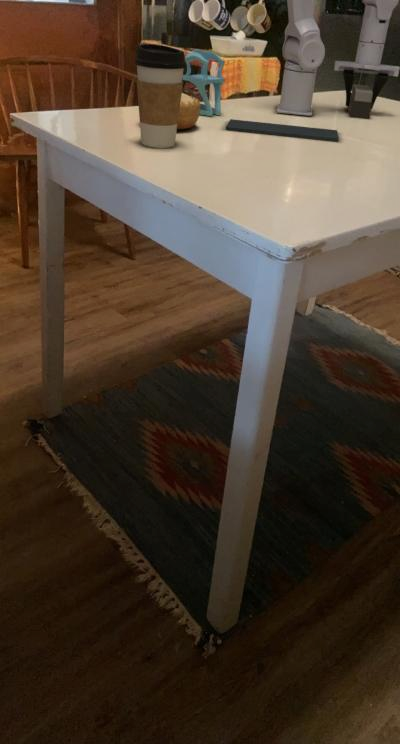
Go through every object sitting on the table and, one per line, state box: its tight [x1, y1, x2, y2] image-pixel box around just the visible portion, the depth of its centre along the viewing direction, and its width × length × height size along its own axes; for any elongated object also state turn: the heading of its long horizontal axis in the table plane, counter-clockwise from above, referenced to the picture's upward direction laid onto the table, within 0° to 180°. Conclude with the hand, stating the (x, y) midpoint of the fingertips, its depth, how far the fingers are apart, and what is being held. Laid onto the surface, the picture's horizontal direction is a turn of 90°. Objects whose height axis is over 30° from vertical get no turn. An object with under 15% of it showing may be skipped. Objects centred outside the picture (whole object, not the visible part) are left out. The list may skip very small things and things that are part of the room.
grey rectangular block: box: [346, 84, 373, 120], centre depth 143 cm, size 12×4×6 cm, turn 171°
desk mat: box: [225, 118, 340, 143], centre depth 121 cm, size 8×22×1 cm, turn 81°
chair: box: [182, 48, 226, 117], centre depth 129 cm, size 8×8×12 cm
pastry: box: [177, 92, 201, 130], centre depth 116 cm, size 12×12×9 cm
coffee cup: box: [134, 43, 187, 149], centre depth 101 cm, size 8×8×15 cm
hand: (358, 106), depth 144 cm, fingers open, 5 cm apart
